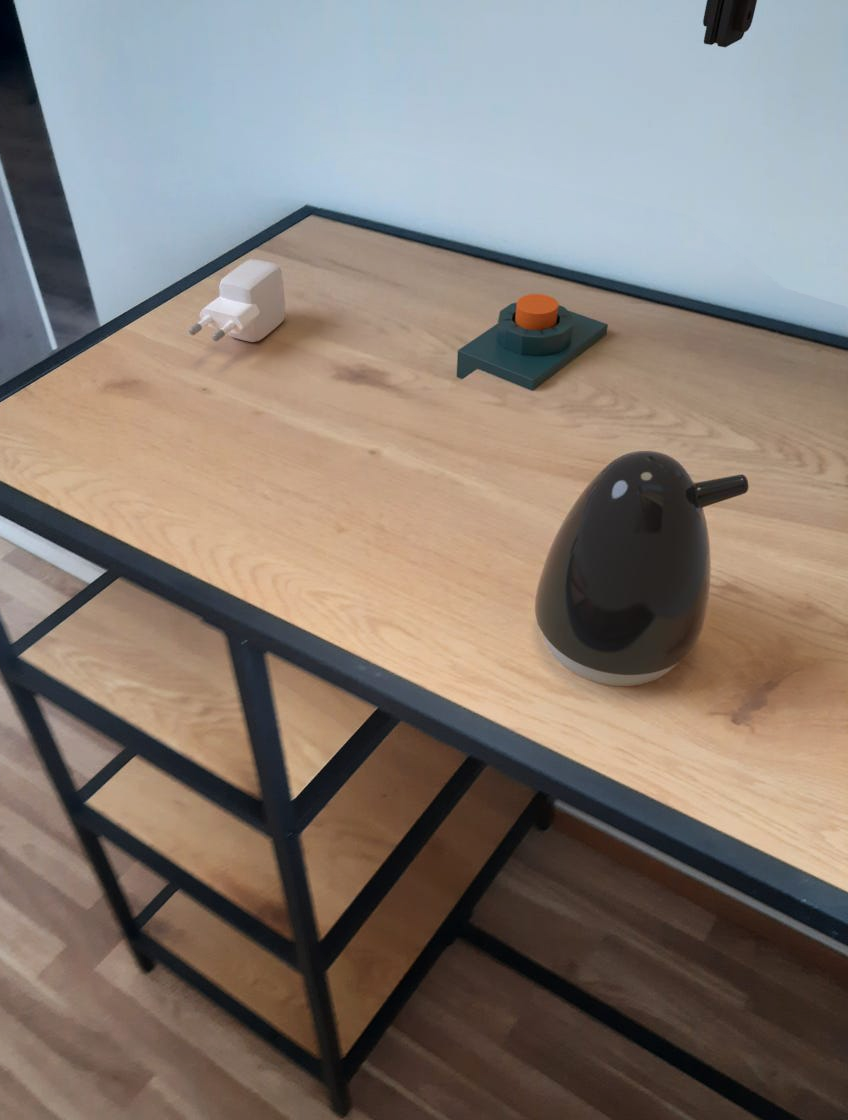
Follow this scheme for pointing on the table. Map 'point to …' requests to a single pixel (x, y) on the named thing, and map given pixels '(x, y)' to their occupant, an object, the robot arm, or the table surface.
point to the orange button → (536, 312)
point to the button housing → (529, 348)
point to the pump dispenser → (631, 571)
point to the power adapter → (246, 303)
